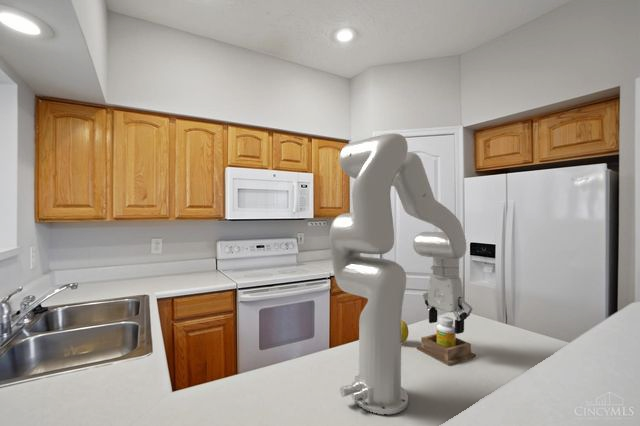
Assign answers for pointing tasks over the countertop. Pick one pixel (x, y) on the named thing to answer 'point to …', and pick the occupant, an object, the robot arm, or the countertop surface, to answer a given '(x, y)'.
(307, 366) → the countertop surface
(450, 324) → the supplement bottle
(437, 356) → the brown square bottle holder
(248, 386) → the countertop surface
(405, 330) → the lemon
